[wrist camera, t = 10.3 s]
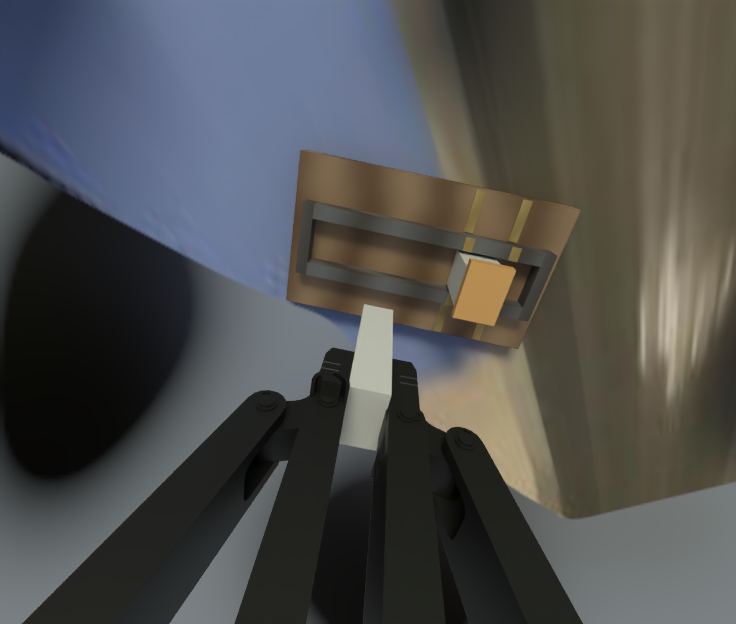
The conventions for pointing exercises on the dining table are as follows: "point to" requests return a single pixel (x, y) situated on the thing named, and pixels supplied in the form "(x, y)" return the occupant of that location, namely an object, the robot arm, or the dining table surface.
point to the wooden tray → (416, 244)
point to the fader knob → (478, 287)
